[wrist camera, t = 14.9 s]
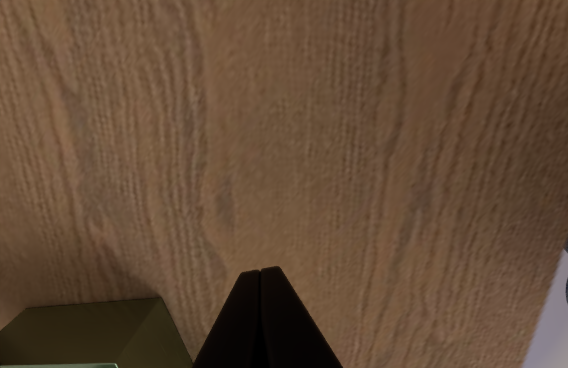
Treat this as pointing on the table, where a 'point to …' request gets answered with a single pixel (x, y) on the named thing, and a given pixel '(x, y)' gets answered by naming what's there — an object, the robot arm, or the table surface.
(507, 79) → the table surface
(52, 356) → the green block
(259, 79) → the table surface
